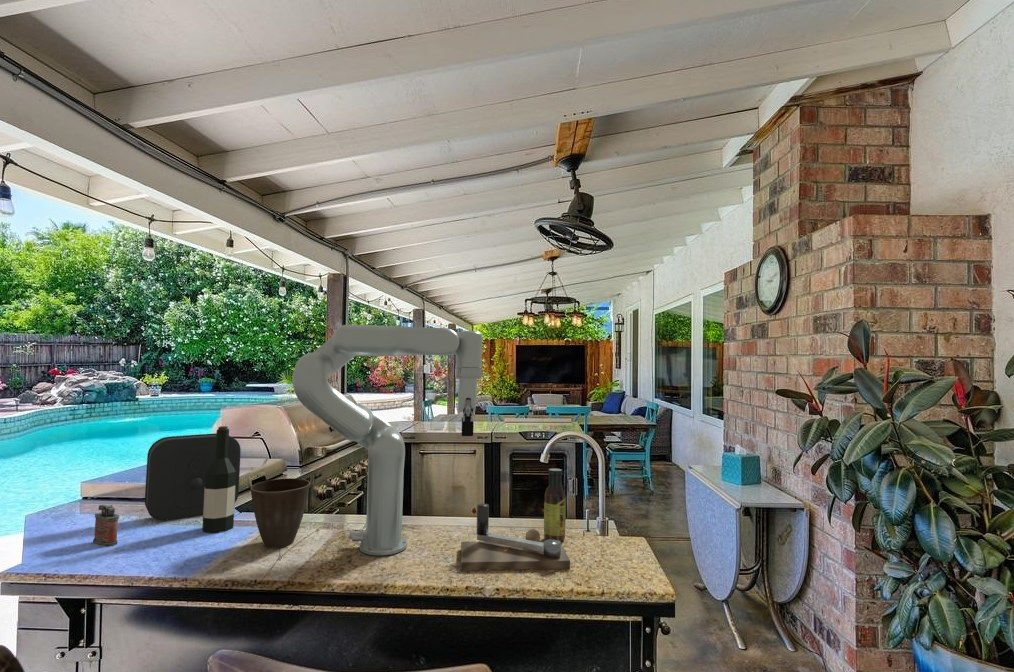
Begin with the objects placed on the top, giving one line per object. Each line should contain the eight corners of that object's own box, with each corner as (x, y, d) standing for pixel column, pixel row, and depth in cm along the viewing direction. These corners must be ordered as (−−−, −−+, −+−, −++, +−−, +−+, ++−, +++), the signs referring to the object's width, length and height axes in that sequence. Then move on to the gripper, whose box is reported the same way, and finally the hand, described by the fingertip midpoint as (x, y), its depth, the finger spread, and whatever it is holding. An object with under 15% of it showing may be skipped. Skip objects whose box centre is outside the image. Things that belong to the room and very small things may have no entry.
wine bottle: (239, 527, 149) (244, 426, 150) (210, 535, 142) (216, 429, 143) (224, 522, 153) (229, 424, 155) (195, 529, 146) (201, 426, 148)
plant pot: (284, 556, 127) (287, 493, 128) (234, 550, 131) (237, 489, 132) (318, 537, 142) (320, 480, 143) (273, 532, 145) (275, 476, 146)
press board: (460, 570, 121) (461, 545, 121) (461, 549, 135) (461, 526, 135) (570, 568, 123) (570, 544, 124) (559, 547, 137) (559, 525, 137)
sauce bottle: (564, 543, 140) (565, 472, 141) (542, 541, 142) (543, 471, 143) (566, 536, 147) (567, 468, 148) (545, 534, 148) (546, 466, 149)
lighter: (120, 543, 134) (123, 506, 135) (106, 547, 131) (108, 509, 132) (104, 538, 138) (106, 502, 138) (89, 542, 135) (91, 505, 135)
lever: (563, 553, 127) (563, 514, 128) (557, 559, 123) (557, 519, 124) (480, 537, 137) (481, 502, 138) (473, 542, 133) (473, 506, 134)
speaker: (232, 504, 172) (236, 431, 173) (238, 510, 165) (242, 434, 167) (143, 518, 155) (148, 437, 157) (146, 525, 149) (151, 441, 150)
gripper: (455, 372, 152) (454, 429, 151) (455, 374, 135) (453, 438, 134) (480, 373, 152) (479, 429, 151) (482, 374, 135) (481, 438, 134)
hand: (467, 433), depth 143 cm, fingers open, 9 cm apart
